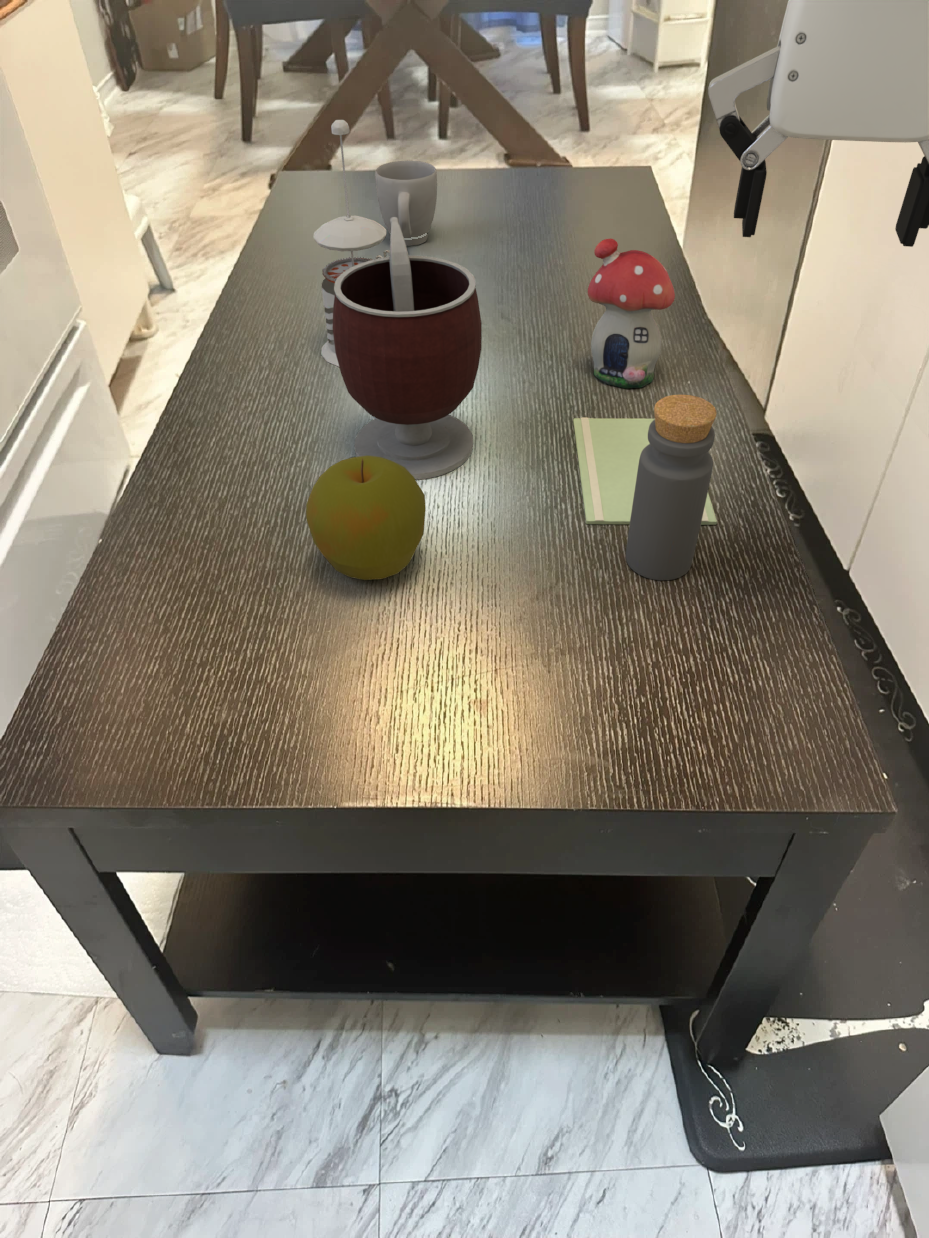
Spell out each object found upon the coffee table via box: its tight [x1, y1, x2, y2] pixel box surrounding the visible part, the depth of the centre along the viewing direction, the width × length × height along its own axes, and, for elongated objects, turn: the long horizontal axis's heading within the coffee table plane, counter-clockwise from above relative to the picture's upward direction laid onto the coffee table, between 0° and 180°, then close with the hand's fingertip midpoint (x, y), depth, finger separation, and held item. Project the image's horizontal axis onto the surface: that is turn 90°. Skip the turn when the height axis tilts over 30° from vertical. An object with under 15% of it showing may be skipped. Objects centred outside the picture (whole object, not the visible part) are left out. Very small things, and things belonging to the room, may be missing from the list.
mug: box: [374, 159, 438, 247], centre depth 128 cm, size 12×9×10 cm
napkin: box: [572, 416, 718, 526], centre depth 88 cm, size 18×12×1 cm, turn 179°
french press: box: [313, 119, 390, 368], centre depth 98 cm, size 10×12×25 cm
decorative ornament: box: [587, 238, 676, 390], centre depth 97 cm, size 9×7×15 cm
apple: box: [305, 455, 427, 581], centre depth 74 cm, size 10×10×11 cm
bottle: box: [625, 394, 718, 581], centre depth 73 cm, size 6×6×15 cm
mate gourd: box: [333, 217, 483, 480], centre depth 85 cm, size 16×14×20 cm
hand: (824, 234), depth 57 cm, fingers open, 9 cm apart
